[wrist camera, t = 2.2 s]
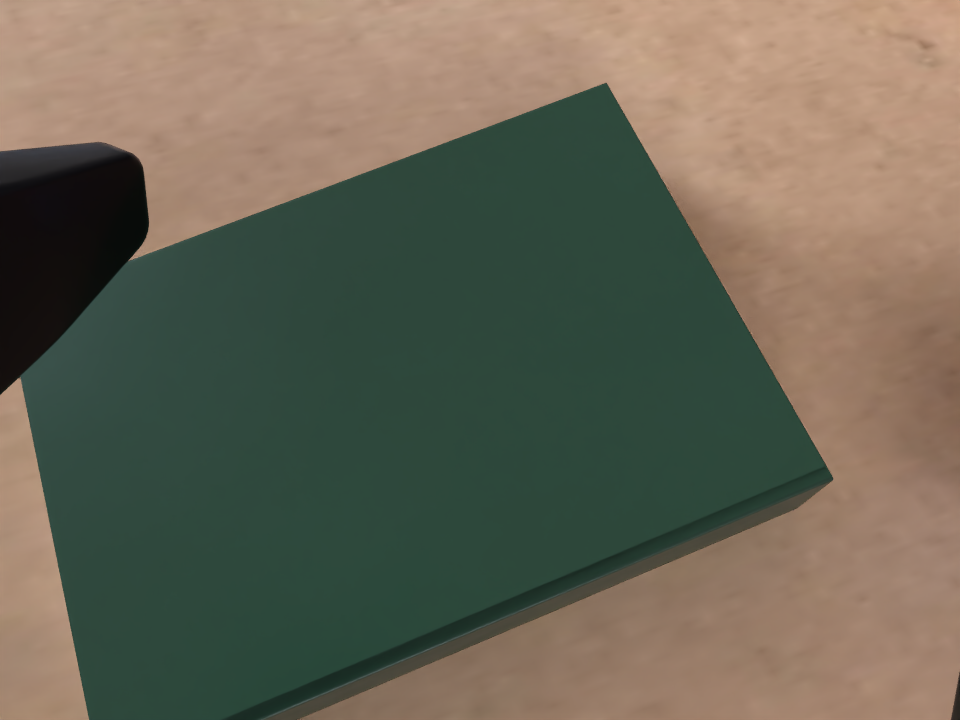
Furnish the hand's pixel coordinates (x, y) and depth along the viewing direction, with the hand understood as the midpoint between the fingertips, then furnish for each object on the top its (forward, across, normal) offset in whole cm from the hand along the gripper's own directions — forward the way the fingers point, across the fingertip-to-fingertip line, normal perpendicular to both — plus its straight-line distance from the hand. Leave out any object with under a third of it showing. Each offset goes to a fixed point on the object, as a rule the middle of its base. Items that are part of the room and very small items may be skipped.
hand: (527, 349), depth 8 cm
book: (+9, +5, +12) cm, 16 cm away
